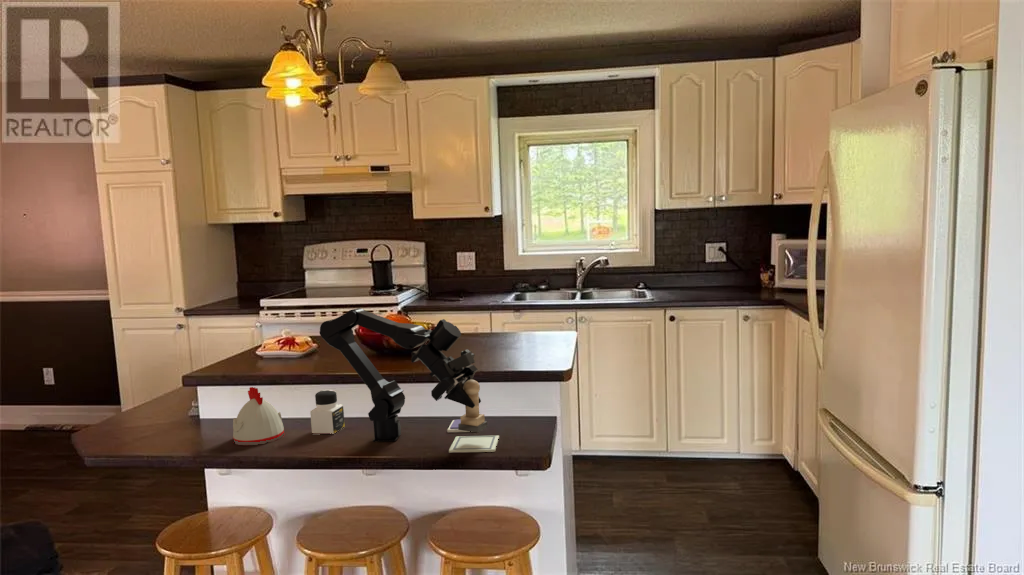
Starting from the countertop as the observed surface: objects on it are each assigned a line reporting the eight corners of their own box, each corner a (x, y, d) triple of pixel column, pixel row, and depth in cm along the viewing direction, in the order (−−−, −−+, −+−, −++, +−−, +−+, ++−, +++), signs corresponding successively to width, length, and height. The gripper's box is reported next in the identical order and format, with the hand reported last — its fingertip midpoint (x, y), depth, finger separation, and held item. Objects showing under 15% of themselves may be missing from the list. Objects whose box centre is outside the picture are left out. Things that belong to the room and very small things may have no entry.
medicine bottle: (334, 435, 188) (330, 394, 187) (311, 434, 189) (308, 394, 188) (345, 427, 195) (342, 388, 194) (323, 427, 196) (320, 388, 195)
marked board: (448, 452, 168) (448, 449, 168) (456, 438, 179) (456, 436, 179) (494, 451, 167) (494, 449, 167) (499, 437, 178) (499, 435, 178)
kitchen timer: (272, 427, 199) (267, 379, 197) (292, 436, 189) (288, 386, 187) (225, 439, 189) (221, 389, 188) (245, 449, 179) (240, 396, 178)
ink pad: (447, 432, 185) (447, 428, 185) (453, 422, 194) (452, 418, 194) (478, 431, 184) (478, 427, 184) (482, 422, 193) (482, 418, 193)
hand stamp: (458, 429, 172) (456, 381, 170) (467, 424, 176) (466, 376, 175) (478, 432, 169) (476, 383, 168) (487, 426, 174) (485, 378, 172)
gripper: (439, 348, 163) (482, 393, 160) (469, 335, 181) (508, 376, 178) (413, 378, 167) (455, 422, 164) (445, 362, 184) (483, 402, 181)
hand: (476, 404), depth 172 cm, fingers closed on hand stamp, 4 cm apart
